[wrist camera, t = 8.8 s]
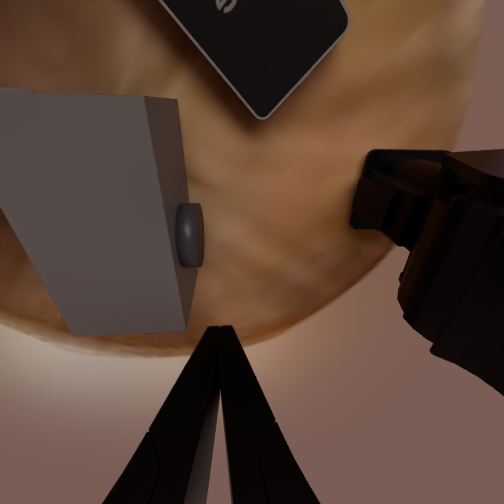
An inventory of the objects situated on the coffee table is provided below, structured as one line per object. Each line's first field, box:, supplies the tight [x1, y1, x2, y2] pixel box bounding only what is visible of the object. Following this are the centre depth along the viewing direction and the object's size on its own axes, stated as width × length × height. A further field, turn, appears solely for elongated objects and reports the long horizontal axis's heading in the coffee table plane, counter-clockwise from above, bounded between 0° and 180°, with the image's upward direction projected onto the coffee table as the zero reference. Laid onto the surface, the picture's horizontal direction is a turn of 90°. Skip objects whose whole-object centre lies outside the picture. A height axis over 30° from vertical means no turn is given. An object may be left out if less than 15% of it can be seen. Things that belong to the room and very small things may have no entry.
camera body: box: [0, 91, 204, 336], centre depth 16 cm, size 9×14×7 cm, turn 179°
